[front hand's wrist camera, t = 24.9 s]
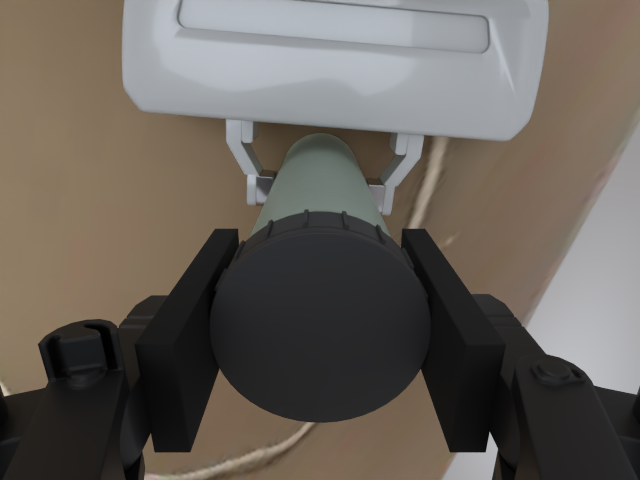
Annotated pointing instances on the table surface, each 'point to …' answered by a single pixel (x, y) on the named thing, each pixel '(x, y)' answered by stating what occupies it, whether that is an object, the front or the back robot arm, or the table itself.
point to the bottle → (320, 183)
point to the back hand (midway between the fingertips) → (319, 208)
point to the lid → (320, 318)
